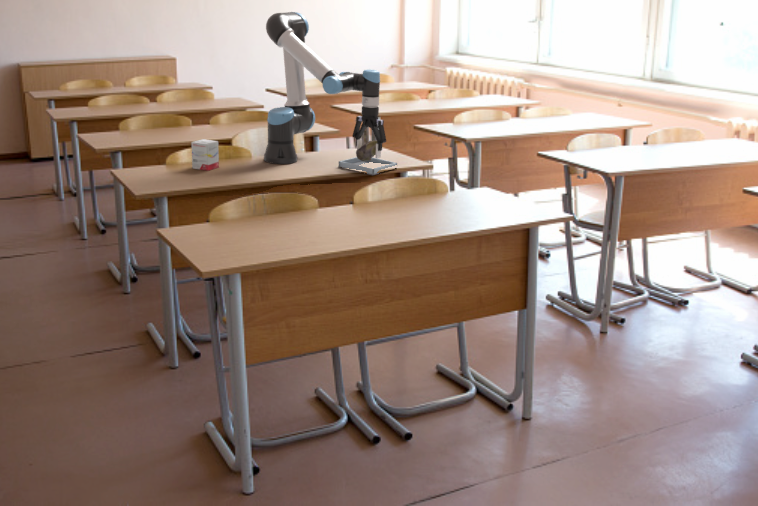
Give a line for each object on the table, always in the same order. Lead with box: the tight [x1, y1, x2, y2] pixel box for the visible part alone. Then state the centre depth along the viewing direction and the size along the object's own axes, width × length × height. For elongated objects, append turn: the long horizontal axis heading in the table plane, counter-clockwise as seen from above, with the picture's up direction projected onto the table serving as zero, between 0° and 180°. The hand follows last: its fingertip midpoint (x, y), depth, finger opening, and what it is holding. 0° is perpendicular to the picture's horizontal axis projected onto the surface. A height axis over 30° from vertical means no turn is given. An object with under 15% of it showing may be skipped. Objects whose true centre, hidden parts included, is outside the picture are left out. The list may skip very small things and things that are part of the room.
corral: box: [338, 156, 398, 176], centre depth 376 cm, size 20×18×3 cm
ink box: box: [190, 138, 220, 171], centre depth 362 cm, size 9×9×12 cm
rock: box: [355, 139, 378, 161], centre depth 374 cm, size 11×10×10 cm
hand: (368, 155), depth 375 cm, fingers closed on rock, 10 cm apart
